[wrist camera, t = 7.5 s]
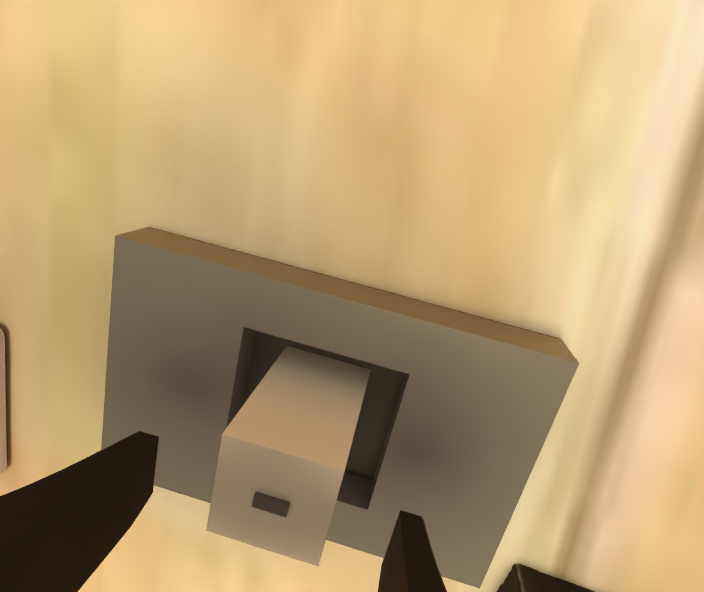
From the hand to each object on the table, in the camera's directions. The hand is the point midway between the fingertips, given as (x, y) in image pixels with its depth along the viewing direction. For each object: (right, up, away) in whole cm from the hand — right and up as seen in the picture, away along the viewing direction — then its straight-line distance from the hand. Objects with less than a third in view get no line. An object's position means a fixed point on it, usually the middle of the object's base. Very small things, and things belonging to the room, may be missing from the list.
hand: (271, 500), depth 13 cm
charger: (+1, +2, +5) cm, 6 cm away
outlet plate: (+1, +2, +6) cm, 6 cm away
